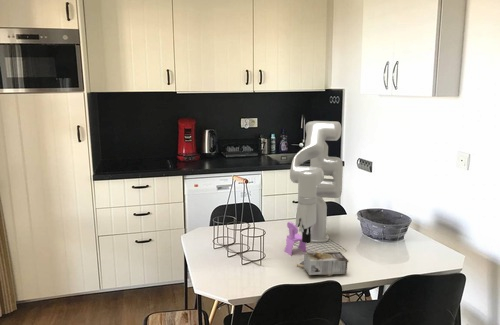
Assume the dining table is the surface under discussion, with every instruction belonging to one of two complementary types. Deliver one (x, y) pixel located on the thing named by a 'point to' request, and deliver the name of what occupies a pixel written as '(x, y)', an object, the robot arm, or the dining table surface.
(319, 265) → the coffee box
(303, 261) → the mat
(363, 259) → the dining table surface
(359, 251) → the dining table surface
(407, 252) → the dining table surface
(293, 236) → the toy chair
